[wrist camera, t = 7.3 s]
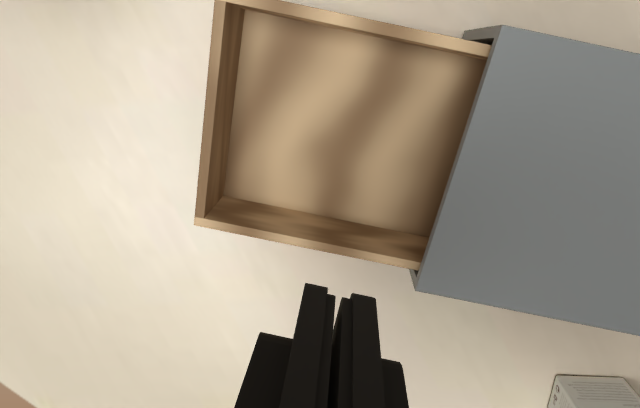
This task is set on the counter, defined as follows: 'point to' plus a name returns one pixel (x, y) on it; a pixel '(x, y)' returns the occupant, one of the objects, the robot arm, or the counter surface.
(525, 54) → the sleeve
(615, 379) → the skincare box
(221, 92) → the tray
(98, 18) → the counter surface
